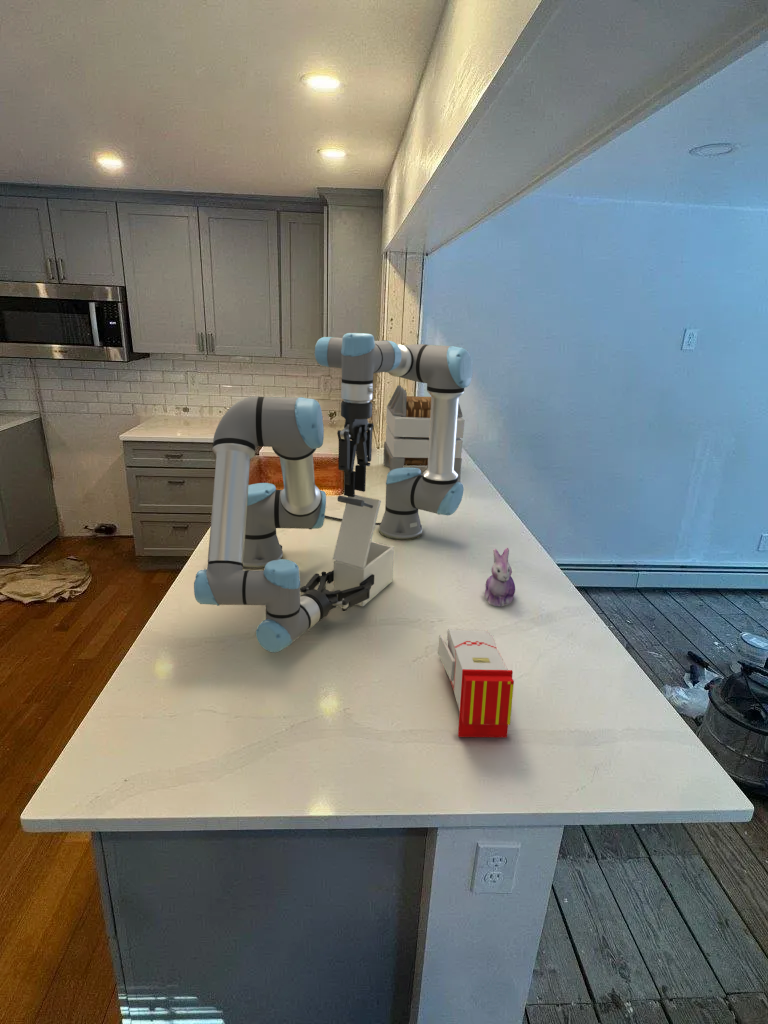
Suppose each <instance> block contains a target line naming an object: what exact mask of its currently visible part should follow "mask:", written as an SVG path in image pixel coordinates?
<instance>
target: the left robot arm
mask: <svg viewBox="0 0 768 1024" xmlns="http://www.w3.org/2000/svg"><path fill="white" fill-rule="evenodd" d="M322 411H323V410H322V407H321V404H320V403H319V402H318V400H316V399H314V398H307V397H304V396H303V397H302V396H301V397H292V396H291V397H290V396H289V397H288V396H287V397H286V396H285V397H284V396H282V397H281V396H260V395H259V396H257V395H254V396H247V397H245V398H242V399H240V400H238V401H237V402H235V403H234V404H233V405H232V406H231V407H229V408H228V409H227V411H226V412H225V413H224V414H223V415H222V417H221V419H220V421H219V422H218V424H217V427H216V429H215V432H214V434H213V439H212V449H211V450H212V453H213V454H214V455H215V456H216V458H215V469H214V480H213V481H214V482H213V492H212V503H211V504H212V505H211V518H210V527H209V528H210V529H209V539H208V540H209V541H208V552H207V566H206V568H204V569H199V570H197V571H196V574H195V579H194V582H193V583H194V584H193V594H194V598H195V600H196V602H197V603H199V604H200V605H212V606H217V607H220V606H265V619H264V620H262V621H261V622H260V623H259V624H258V625H257V627H256V629H255V636H256V640H257V642H258V644H259V645H260V646H261V647H262V649H264V650H265V651H267V652H270V653H274V654H275V653H278V652H281V651H282V650H284V649H287V647H290V646H291V645H292V643H293V642H295V641H296V640H297V639H299V638H300V637H301V636H302V635H304V634H305V633H307V632H308V630H311V628H313V627H314V626H315V625H316V624H318V623H319V622H320V621H322V620H324V618H326V617H327V616H328V615H329V614H330V612H331V611H332V609H333V610H334V609H336V608H341V611H342V612H347V611H348V610H349V609H350V608H353V607H354V606H356V604H358V603H360V602H362V601H365V600H367V599H369V597H370V589H371V586H372V585H373V584H374V575H373V574H372V575H370V576H369V577H368V578H367V579H365V580H364V581H362V582H361V583H360V586H358V587H354V588H350V589H346V590H343V591H340V590H336V591H334V590H329V589H326V585H327V584H328V585H330V584H332V583H334V569H333V570H331V571H330V570H329V571H328V572H326V571H322V572H321V575H320V573H317V572H316V573H314V574H313V576H312V577H311V578H310V579H309V580H308V582H307V583H306V584H305V585H304V586H301V580H300V579H301V577H300V568H299V566H298V564H297V563H296V562H295V561H293V560H291V559H285V558H284V552H283V545H282V544H280V541H279V538H278V535H277V529H297V530H298V529H299V530H300V529H301V530H314V529H315V530H316V529H318V530H319V529H321V528H322V527H323V526H324V523H325V516H326V515H325V514H326V508H327V507H326V505H327V493H326V491H324V490H321V489H319V487H318V486H317V485H316V482H315V481H316V480H315V464H314V453H315V452H316V450H317V449H320V448H321V447H322V446H323V444H324V438H325V437H324V436H325V434H324V433H325V431H324V430H325V429H324V420H323V419H324V417H323V412H322ZM257 447H262V448H263V447H265V448H266V447H267V448H271V449H272V451H273V453H274V454H275V455H276V456H277V457H279V462H280V463H279V464H280V469H281V475H282V481H283V489H277V487H276V485H275V484H273V483H269V482H257V483H252V484H249V483H250V469H251V468H250V467H251V459H253V458H254V457H255V456H256V448H257ZM243 568H244V569H243ZM246 568H247V569H248V570H247V569H246ZM249 569H252V570H249ZM254 569H255V570H254ZM256 569H258V570H256ZM259 569H260V570H259ZM261 569H263V570H261ZM315 588H317V589H315ZM337 594H338V596H337Z"/></svg>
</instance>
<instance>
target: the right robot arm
mask: <svg viewBox="0 0 768 1024" xmlns="http://www.w3.org/2000/svg"><path fill="white" fill-rule="evenodd" d="M314 358H315V361H316V362H317V364H319V366H321V367H327V368H336V369H341V381H340V382H341V383H340V384H341V385H340V386H341V387H340V390H341V391H340V399H341V400H342V401H341V402H340V416H341V417H342V418H344V420H345V421H344V425H343V429H341V430H340V429H338V430H337V432H336V433H337V439H338V461H337V462H338V464H337V465H338V467H337V468H338V469H337V470H339V471H343V496H345V497H348V496H349V497H355V495H356V491H358V492H363V493H364V492H366V480H367V473H366V472H367V467H371V462H372V449H373V431H374V426H375V425H374V423H372V422H369V420H368V419H371V418H372V417H373V403H372V400H373V392H374V388H373V387H374V385H373V383H374V374H377V373H378V374H380V373H388V374H389V375H390V376H392V377H396V378H402V379H405V380H409V381H412V382H417V383H420V384H426V392H427V393H428V394H429V395H430V397H431V413H430V432H429V451H428V466H427V468H426V470H424V471H423V472H422V470H421V468H419V467H413V466H411V467H409V466H406V467H404V468H397V469H393V470H391V471H390V470H389V471H388V472H387V475H386V480H385V504H384V505H385V507H384V508H385V509H384V513H383V515H382V519H381V522H376V524H375V526H378V533H379V534H380V535H381V536H382V537H385V538H387V539H389V540H395V541H410V540H415V539H418V538H420V537H421V536H422V535H423V525H422V524H421V518H420V515H419V510H421V511H425V512H429V513H432V514H436V515H438V516H439V515H442V516H447V517H448V516H452V515H453V514H454V513H456V511H457V510H458V508H459V506H460V504H461V502H462V500H463V496H464V490H465V489H464V484H463V483H462V482H461V481H460V482H458V474H457V473H456V472H455V471H454V459H455V445H456V430H457V416H458V402H459V403H460V401H459V400H460V397H461V396H462V395H463V394H464V393H465V389H466V388H468V387H469V386H470V385H471V382H472V379H473V373H474V364H473V359H472V356H471V354H470V352H469V351H468V350H467V349H466V348H464V347H460V346H455V345H441V344H440V345H438V344H426V343H425V344H424V343H418V344H417V343H416V344H400V343H399V344H398V343H397V342H395V341H392V340H388V339H387V340H385V339H384V340H383V339H382V340H375V337H374V335H373V334H371V333H363V332H347V333H344V334H343V335H342V337H334V336H322V337H321V338H319V339H318V340H317V341H316V343H315V346H314ZM352 440H354V441H352ZM355 459H356V460H355ZM355 461H356V463H357V464H356V465H355ZM325 518H326V519H330V520H335V521H341V522H342V518H339V517H335V516H329V515H325V517H324V519H325Z"/></svg>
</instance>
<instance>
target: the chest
mask: <svg viewBox="0 0 768 1024" xmlns="http://www.w3.org/2000/svg"><path fill="white" fill-rule="evenodd" d="M394 559H395V546H393V545H389V544H385V543H381V542H377V541H373V540H371V544H370V549H369V553H368V557H367V561H366V565H365V568H362V567H359V566H355V565H351V564H348V563H344V562H341V561H337V560H334V561H333V570H334V581H333V591H336V590H340V591H343V590H346V589H350V588H354V587H358V586H360V583H361V582H362V581H364V580H365V579H367V578H368V577H369V576H370V575H372V574H373V575H374V584H373V585H372V586H371V589H370V597H369V599H367V600H365V601H362V602H360V603H358V604H356V605H357V606H359V607H364V606H366V605H367V604H368V603H369V602H370V601H371V600H372V599H373V598H374V597H376V596H377V595H378V594H379V593H380V592H382V591H383V590H384V589H385V588H386V587H388V586H389V584H391V583H392V582H393V581H394V561H395V560H394ZM337 596H338V594H337ZM356 605H355V606H356Z"/></svg>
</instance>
